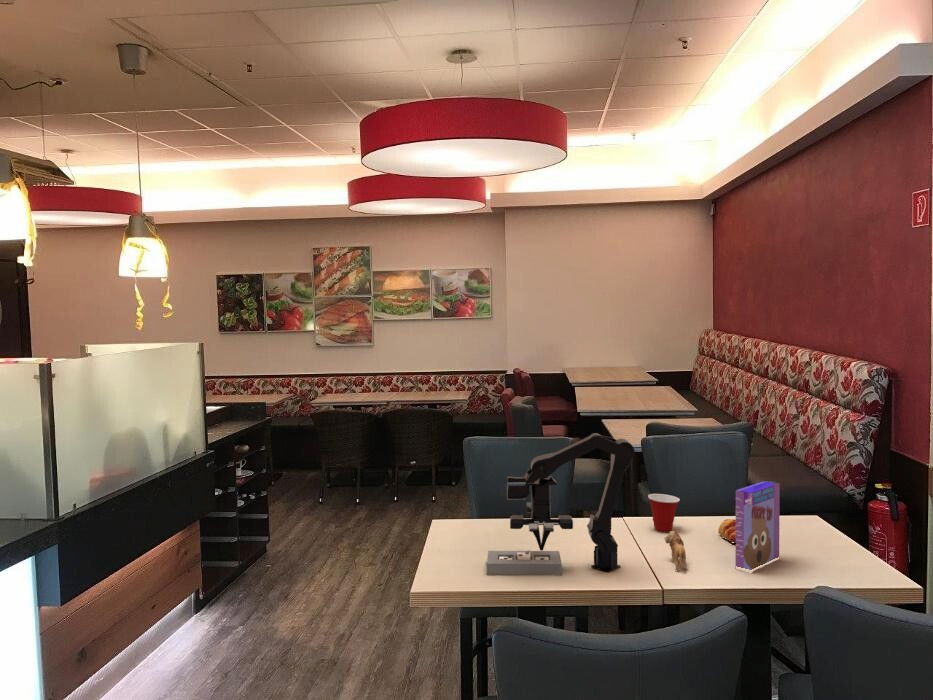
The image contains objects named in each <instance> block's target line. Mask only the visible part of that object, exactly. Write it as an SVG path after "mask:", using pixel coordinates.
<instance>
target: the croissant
mask: <svg viewBox="0 0 933 700" xmlns="http://www.w3.org/2000/svg"><path fill="white" fill-rule="evenodd" d="M719 534H721V535H720V536H721V538H722V537H724V538H726V539H727V540H726V541H728V540H729V541H731V542H734V543H736V518H734V519H733V518H728V519H725V520H723V521H722V522H721V523H720V525H719V526H718V535H719ZM729 541H728V542H729ZM731 542H730V543H731ZM734 543H733V544H734Z"/></svg>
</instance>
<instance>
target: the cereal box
mask: <svg viewBox="0 0 933 700" xmlns="http://www.w3.org/2000/svg"><path fill="white" fill-rule="evenodd" d="M780 486H781V483H779V482H776V481H771V480H770V481H769V480H763V481H761V482H760V481H759V482H758V483H754V484H751V485H748V486H745V487H742V488H738V489H736V490H735V520H736V544H735V567H736V566H737V567H741V568H745V569H749V570H752V569H754V568H756V567H758V566H760V565H763V564H765V563H767V562H769V561H771V560H773V559H775V558H778V557H779V558H780V510H781V509H780V503H781V501H780V498H781V497H780V493H781V492H780Z"/></svg>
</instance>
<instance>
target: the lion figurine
mask: <svg viewBox="0 0 933 700" xmlns="http://www.w3.org/2000/svg"><path fill="white" fill-rule="evenodd" d="M663 539H664V540H663V541H665V543H666V544H668V545H669V547H670V550H671V557H672V558H671V561H670V563H671V562H675V568H674V569H675V570H677V571H676V572H680V567H681V569H682V571H683V572H684V573H687V569H688V568H687V567H688V566H687V564H686V562H687V555H686V553H687V552H686V549H685V547H684V545H685V543H684V540H682V537H681V535H680V534H679V533H678V532H677V531H674V530H672V531H670V532H669V533H668V534H667V536H665V537H664V538H663ZM679 561H680V562H679ZM682 561H683V562H682ZM679 563H680V565H679ZM684 568H687V569H684ZM675 570H674V571H675Z"/></svg>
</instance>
